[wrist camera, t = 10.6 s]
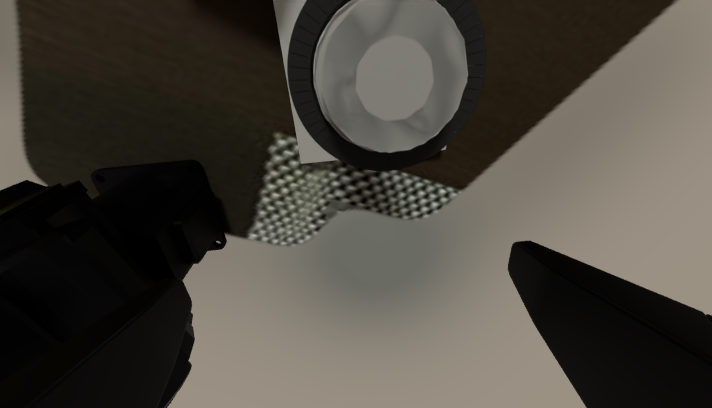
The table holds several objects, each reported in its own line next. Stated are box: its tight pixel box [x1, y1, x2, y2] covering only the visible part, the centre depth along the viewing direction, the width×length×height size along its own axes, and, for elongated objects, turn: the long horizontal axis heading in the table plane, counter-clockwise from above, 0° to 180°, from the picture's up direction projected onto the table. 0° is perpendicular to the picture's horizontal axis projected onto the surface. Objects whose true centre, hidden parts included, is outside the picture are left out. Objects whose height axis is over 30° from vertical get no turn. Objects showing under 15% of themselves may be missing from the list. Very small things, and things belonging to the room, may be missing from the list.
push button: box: [287, 0, 486, 171], centre depth 12 cm, size 7×5×10 cm
